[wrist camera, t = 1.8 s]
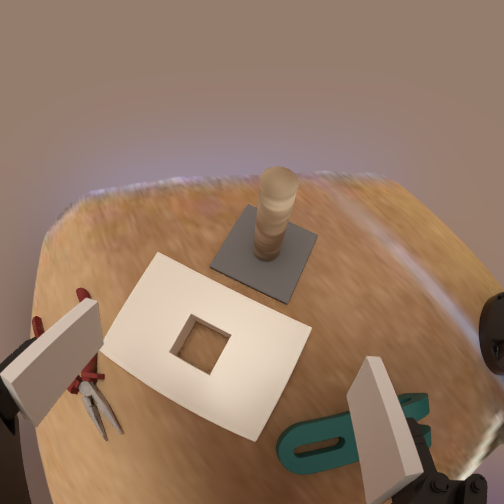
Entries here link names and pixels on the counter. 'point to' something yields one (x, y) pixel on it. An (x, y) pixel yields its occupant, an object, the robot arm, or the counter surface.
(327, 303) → the counter surface
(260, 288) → the mat
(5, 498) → the robot arm
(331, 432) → the bracket
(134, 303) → the hole block
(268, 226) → the peg
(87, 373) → the pliers
